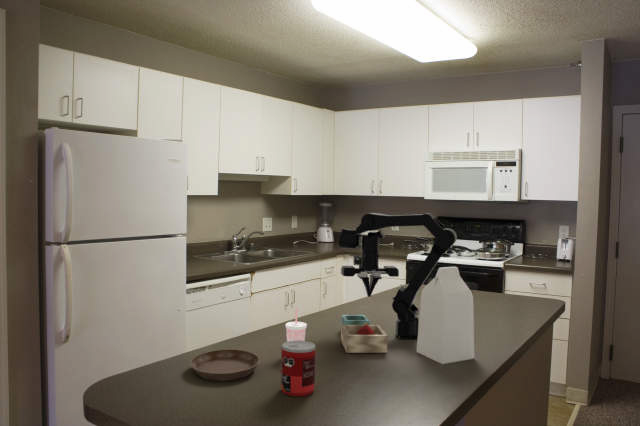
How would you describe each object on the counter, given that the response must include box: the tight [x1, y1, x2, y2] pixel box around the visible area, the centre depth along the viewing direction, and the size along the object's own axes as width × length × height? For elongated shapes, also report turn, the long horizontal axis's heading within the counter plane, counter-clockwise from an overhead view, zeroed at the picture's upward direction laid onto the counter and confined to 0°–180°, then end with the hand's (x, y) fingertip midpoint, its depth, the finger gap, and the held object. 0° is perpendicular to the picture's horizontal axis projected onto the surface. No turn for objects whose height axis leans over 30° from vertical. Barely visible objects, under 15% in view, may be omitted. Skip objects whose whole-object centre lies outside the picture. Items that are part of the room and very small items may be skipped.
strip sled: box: [340, 314, 388, 354], centre depth 165 cm, size 12×25×5 cm, turn 6°
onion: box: [356, 323, 375, 335], centre depth 156 cm, size 6×6×8 cm
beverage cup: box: [284, 306, 308, 342], centre depth 149 cm, size 6×6×14 cm
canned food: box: [280, 340, 317, 397], centre depth 123 cm, size 8×8×11 cm
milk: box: [415, 266, 475, 365], centre depth 152 cm, size 12×12×26 cm
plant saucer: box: [190, 349, 260, 382], centre depth 135 cm, size 18×18×3 cm
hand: (368, 296), depth 175 cm, fingers closed
